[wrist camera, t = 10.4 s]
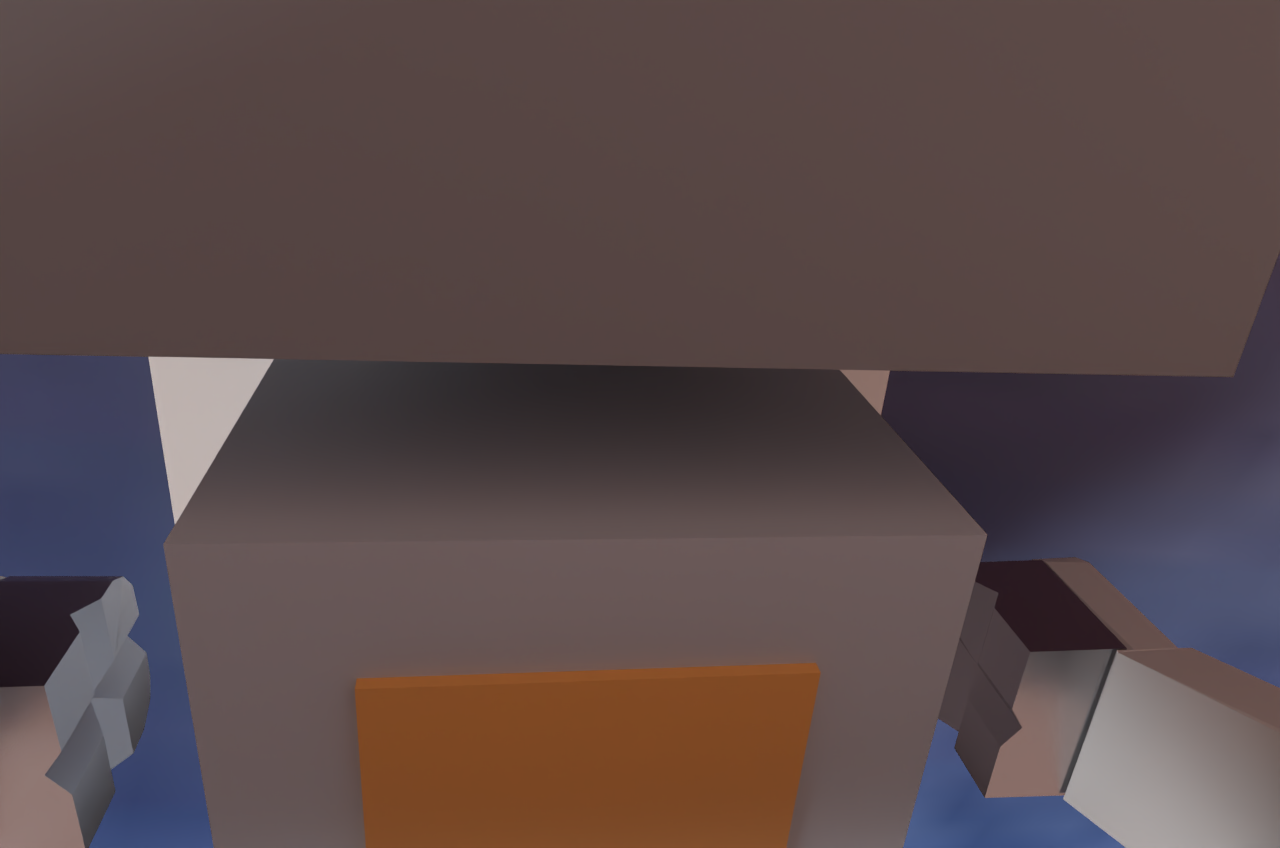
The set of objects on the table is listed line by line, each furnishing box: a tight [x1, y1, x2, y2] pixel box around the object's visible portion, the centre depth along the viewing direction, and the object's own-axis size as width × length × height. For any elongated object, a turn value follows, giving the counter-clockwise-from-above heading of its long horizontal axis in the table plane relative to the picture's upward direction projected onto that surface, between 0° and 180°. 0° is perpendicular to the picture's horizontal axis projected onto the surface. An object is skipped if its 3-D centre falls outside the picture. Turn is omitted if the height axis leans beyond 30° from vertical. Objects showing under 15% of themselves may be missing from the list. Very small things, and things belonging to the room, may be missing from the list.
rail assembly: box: [0, 0, 1280, 524], centre depth 11 cm, size 14×11×9 cm
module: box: [163, 359, 987, 848], centre depth 10 cm, size 6×5×8 cm
